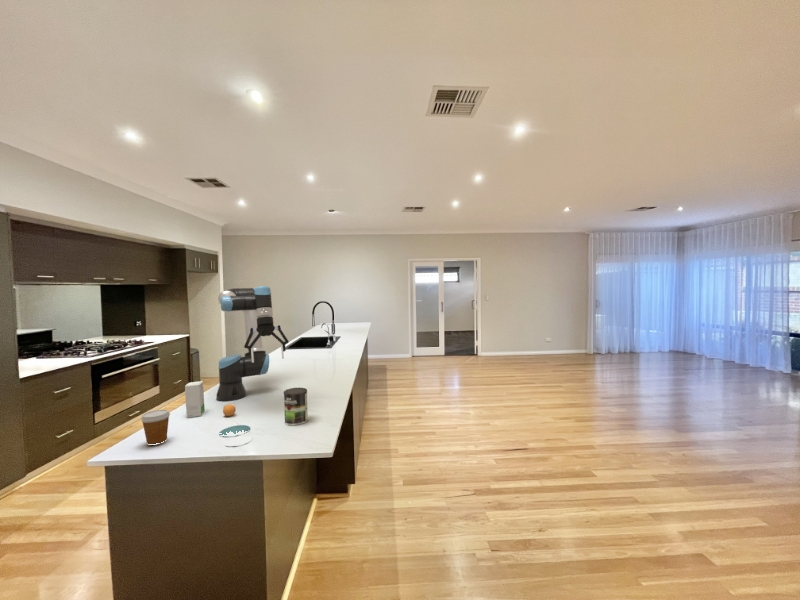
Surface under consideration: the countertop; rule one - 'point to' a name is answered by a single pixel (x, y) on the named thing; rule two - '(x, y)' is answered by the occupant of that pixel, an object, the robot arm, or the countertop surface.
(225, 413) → the ball
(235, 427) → the disc
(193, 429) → the countertop surface
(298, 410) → the coffee can
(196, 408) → the skincare box
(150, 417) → the disposable coffee cup
